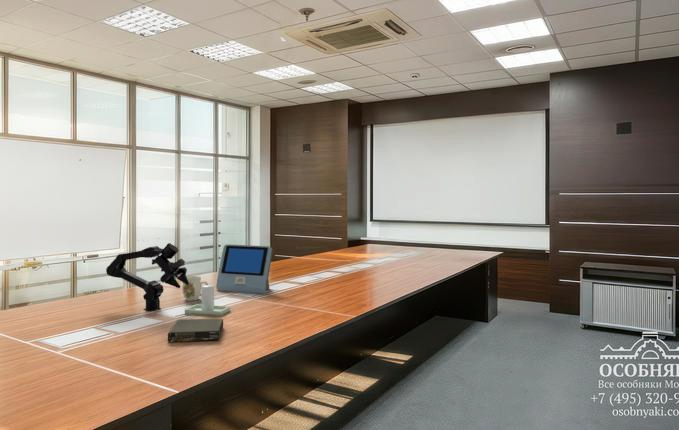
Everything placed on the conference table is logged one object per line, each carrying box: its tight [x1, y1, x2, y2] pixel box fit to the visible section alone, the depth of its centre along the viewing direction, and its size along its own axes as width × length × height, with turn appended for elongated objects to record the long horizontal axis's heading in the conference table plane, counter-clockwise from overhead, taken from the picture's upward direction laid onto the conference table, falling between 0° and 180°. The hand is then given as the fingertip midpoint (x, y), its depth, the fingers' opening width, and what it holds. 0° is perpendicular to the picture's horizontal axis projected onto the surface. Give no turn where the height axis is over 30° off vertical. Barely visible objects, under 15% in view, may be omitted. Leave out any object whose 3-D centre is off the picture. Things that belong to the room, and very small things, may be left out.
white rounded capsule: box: [200, 284, 215, 311], centre depth 243 cm, size 6×6×13 cm
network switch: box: [167, 318, 224, 344], centre depth 204 cm, size 23×24×5 cm
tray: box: [184, 303, 231, 317], centre depth 243 cm, size 20×12×2 cm, turn 80°
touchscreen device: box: [215, 243, 274, 295], centre depth 303 cm, size 35×20×30 cm, turn 73°
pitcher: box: [182, 275, 209, 302], centre depth 273 cm, size 11×18×14 cm, turn 90°
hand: (184, 286), depth 245 cm, fingers open, 9 cm apart
